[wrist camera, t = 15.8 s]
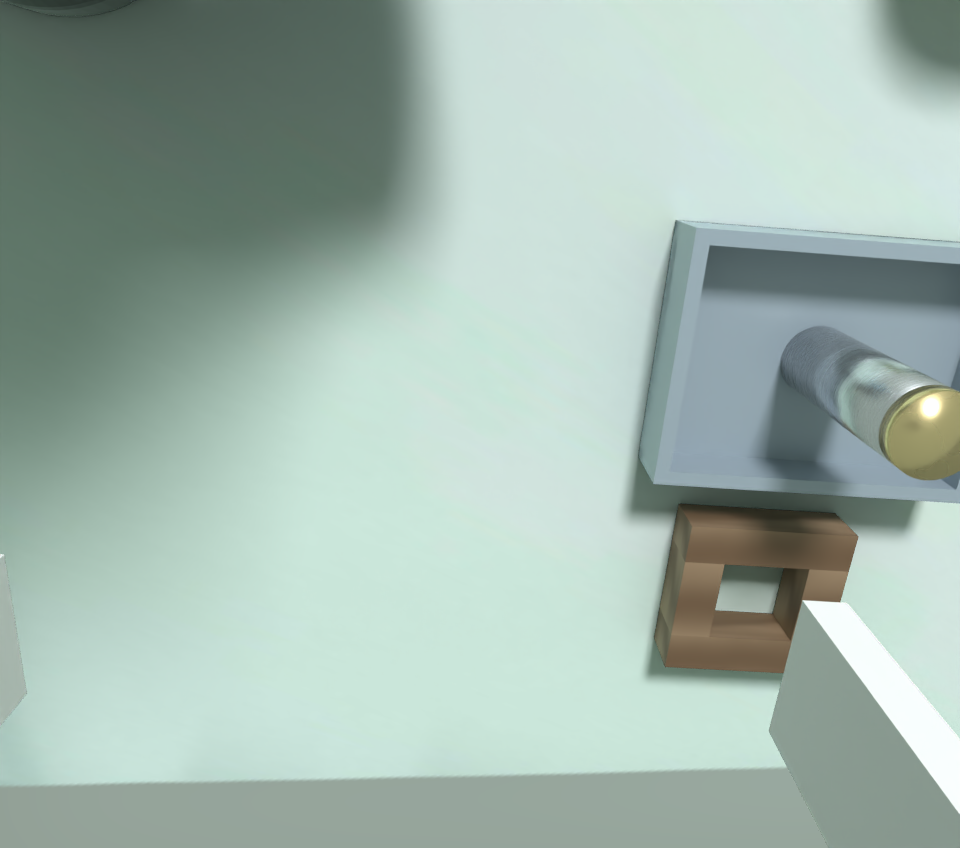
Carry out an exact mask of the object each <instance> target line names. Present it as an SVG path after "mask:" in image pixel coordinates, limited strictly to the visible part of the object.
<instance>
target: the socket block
mask: <svg viewBox="0 0 960 848" xmlns="http://www.w3.org/2000/svg"><path fill="white" fill-rule="evenodd" d="M857 540H858V536H857V535H856V534H855V533H854V532H853V531H852V530H851V529H850V528H849V527H848V526H847V525H846V524H845V523H844V522H843V521H842V520H841V519H840V518H839V517H838V516H837V515H836V514H835V513H821V512H804V511H788V510H772V509H756V508H740V507H724V506H707V505H691V504H679V505H678V510H677V516H676V521H675V527H674V532H673V538H672V543H671V549H670V554H669V559H668V565H667V570H666V576H665V581H664V587H663V592H662V598H661V603H660V608H659V614H658V619H657V625H656V630H655V636H654V639H655V642H656V644H657V647H658V650H659V652H660V655H661V658H662V660H663V663H664V665H665V667H677V668H696V669H715V670H733V671H752V672H771V673H784V670H785V666H786V662H787V658H788V654H789V650H790V647H791V643H792V639H793V635H794V631H795V627H796V623H797V620H798V616H799V612H800V608H801V604H802V600H806V601H823V602H840V601H841V597H842V593H843V590H844V586H845V583H846V579H847V576H848V572H849V568H850V565H851V561H852V558H853V554H854V551H855V547H856V543H857ZM725 564H726V565H743V566H760V567H777V568H784V570H783V574H782V578H781V582H780V587H779V591H778V595H777V599H776V603H775V607H774V611H773V614H768V613H751V612H733V611H715V607H716V603H717V598H718V593H719V589H720V584H721V579H722V574H723V570H724V565H725Z"/></svg>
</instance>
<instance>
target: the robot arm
mask: <svg viewBox="0 0 960 848" xmlns="http://www.w3.org/2000/svg"><path fill="white" fill-rule="evenodd" d="M0 1H3V2H6V3H9V4H12V5H15V6H19V7H22V8H25V9H28V10H32V11H35V12H39V13H44V14H49V15H56V16H70V17H76V16H90V15H97V14H101V13H106V12H109V11H112V10H116V9H118V8H121V7H123V6H126V5H128V4H130V3H132V2H134V1H136V0H0ZM26 694H27V691H26V685H25V679H24V673H23V667H22V660H21V654H20V648H19V642H18V636H17V630H16V623H15V617H14V611H13V605H12V599H11V593H10V587H9V580H8V574H7V568H6V562H5V556H4V555H3V554H0V726H1V725H2V724H3V723H4V721H5V720H6V719H7V718H8V716H9V715H10V714H11V713H12V711H13V710H14V709H15V708H16V707H17V705H18V704H19V703H20V702H21V700H22V699H23V698H24V697H25V695H26ZM769 733H770V735H771V737H772V738H773V740H774V742H775V744H776V746H777V748H778V750H779V752H780V754H781V756H782V758H783V760H784V762H785V764H786V766H787V768H788V770H789V771H790V773H791V776H792V777H793V779H794V781H795V783H796V785H797V787H798V789H799V791H800V793H801V795H802V797H803V799H804V801H805V803H806V805H807V807H808V809H809V811H810V812H811V815H812V817H813V818H814V820H815V822H816V824H817V826H818V828H819V830H820V832H821V834H822V836H823V838H824V840H825V842H826V844H827V846H828V848H960V739H959V737H958V736H957V735H956V734H955V733H954V731H953V730H952V729H951V728H950V726H949V725H948V724H947V723H946V722H945V720H944V719H943V718H942V717H941V716H940V714H939V713H938V712H937V711H936V710H935V708H934V707H933V706H932V705H931V704H930V702H929V701H928V700H927V699H926V697H925V696H924V695H923V694H922V693H921V691H920V690H919V689H918V688H917V687H916V685H915V684H914V683H913V682H912V681H911V679H910V678H909V677H908V676H907V675H906V673H905V672H904V671H903V670H902V669H901V667H900V666H899V665H898V664H897V662H896V661H895V660H894V659H893V658H892V656H891V655H890V654H889V653H888V652H887V650H886V649H885V648H884V647H883V646H882V644H881V643H880V642H879V641H878V640H877V638H876V637H875V636H874V635H873V634H872V632H871V631H870V630H869V629H868V627H867V626H866V625H865V624H864V623H863V621H862V620H861V619H860V618H859V617H858V615H857V614H856V613H855V612H854V611H853V609H852V608H851V607H850V606H849V605H848V603H841V602H823V601H806V600H802V604H801V608H800V612H799V616H798V620H797V623H796V627H795V631H794V635H793V639H792V643H791V647H790V650H789V654H788V658H787V662H786V666H785V670H784V674H783V678H782V681H781V685H780V689H779V693H778V697H777V701H776V705H775V708H774V712H773V716H772V720H771V724H770V728H769Z"/></svg>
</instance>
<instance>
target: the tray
mask: <svg viewBox="0 0 960 848" xmlns="http://www.w3.org/2000/svg"><path fill="white" fill-rule="evenodd" d="M814 326H829V327H832V328H834V329H837V330H839V331H841V332H843V333H845V334H847V335H849V336H851V337H852V338H854V339H856V340H858V341H860V342H862V343H864V344H866V345H868V346H870V347H872V348H874V349H876V350H878V351H880V352H882V353H884V354H886V355H888V356H890V357H892V358H894V359H896V360H898V361H900V362H902V363H904V364H906V365H908V366H910V367H912V368H914V369H916V370H918V371H919V372H921V373H923V374H925V375H927V376H929V377H931V378H933V379H935V380H937V381H939V382H941V383H943V384H945V385H947V386H949V387H951V388H953V389H955V390H957V391H959V392H960V242H953V241H940V240H927V239H914V238H901V237H888V236H875V235H862V234H849V233H836V232H823V231H810V230H797V229H784V228H771V227H758V226H745V225H731V224H718V223H705V222H692V221H679V220H676V223H675V229H674V235H673V242H672V248H671V254H670V260H669V267H668V273H667V279H666V286H665V292H664V298H663V304H662V311H661V317H660V323H659V330H658V336H657V342H656V348H655V355H654V361H653V367H652V374H651V380H650V386H649V392H648V399H647V405H646V411H645V417H644V424H643V430H642V436H641V443H640V449H639V455H638V457H639V459H640V460H641V462H642V464H643V466H644V468H645V470H646V471H647V473H648V475H649V477H650V479H651V481H652V482H653V484H661V485H677V486H693V487H709V488H725V489H741V490H756V491H772V492H788V493H804V494H820V495H836V496H852V497H868V498H884V499H900V500H916V501H931V502H947V503H960V471H959V472H957V473H955V474H953V475H951V476H949V477H946V478H943V479H938V480H919V479H915V478H912V477H910V476H908V475H906V474H905V473H903V472H902V471H901V470H899V469H898V468H897V467H895V466H894V465H893V464H891V463H890V462H889V461H887V460H886V459H885V458H883V457H882V456H881V455H880V454H878V453H877V452H876V451H874V450H873V449H872V448H870V447H869V446H868V445H866V444H865V443H864V442H862V441H861V440H860V439H858V438H857V437H856V436H855V435H853V434H852V433H851V432H849V431H848V430H847V429H845V428H844V427H843V426H841V425H840V424H839V423H837V422H836V421H835V420H833V419H832V418H831V417H829V416H828V415H827V414H826V413H824V412H823V411H822V410H820V409H819V408H818V407H816V406H815V405H814V404H812V403H811V402H810V401H808V400H807V399H806V398H804V397H803V396H802V395H800V394H799V393H798V392H797V391H795V390H794V389H793V388H791V387H790V386H789V385H788V384H787V383H786V381H785V380H784V378H783V376H782V373H781V367H780V366H781V357H782V353H783V351H784V349H785V347H786V345H787V344H788V343H789V341H790V340H791V339H792V338H793V337H794V336H795V335H797V334H798V333H799V332H801V331H803V330H805V329H807V328H810V327H814Z"/></svg>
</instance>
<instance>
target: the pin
mask: <svg viewBox="0 0 960 848" xmlns="http://www.w3.org/2000/svg"><path fill="white" fill-rule="evenodd" d="M780 367H781V373H782V376H783V378H784V380H785V381H786V383H787V384H788V385H789V386H790V387H791V388H793V389H794V390H795V391H797V392H798V393H799V394H800V395H802V396H803V397H804V398H806V399H807V400H808V401H810V402H811V403H812V404H814V405H815V406H816V407H818V408H819V409H820V410H822V411H823V412H824V413H826V414H827V415H828V416H829V417H831V418H832V419H833V420H835V421H836V422H837V423H839V424H840V425H841V426H843V427H844V428H845V429H847V430H848V431H849V432H851V433H852V434H853V435H855V436H856V437H857V438H858V439H860V440H861V441H862V442H864V443H865V444H866V445H868V446H869V447H870V448H872V449H873V450H874V451H876V452H877V453H878V454H880V455H881V456H882V457H883V458H885V459H886V460H887V461H889V462H890V463H891V464H893V465H894V466H895V467H897V468H898V469H899V470H901V471H902V472H903V473H905V474H906V475H908V476H910V477H912V478H915V479H919V480H938V479H943V478H946V477H949V476H951V475H953V474H955V473H957V472H959V471H960V392H959V391H957V390H955V389H953V388H951V387H949V386H947V385H945V384H943V383H941V382H939V381H937V380H935V379H933V378H931V377H929V376H927V375H925V374H923V373H921V372H919V371H918V370H916V369H914V368H912V367H910V366H908V365H906V364H904V363H902V362H900V361H898V360H896V359H894V358H892V357H890V356H888V355H886V354H884V353H882V352H880V351H878V350H876V349H874V348H872V347H870V346H868V345H866V344H864V343H862V342H860V341H858V340H856V339H854V338H852V337H851V336H849V335H847V334H845V333H843V332H841V331H839V330H837V329H834V328H832V327H829V326H814V327H810V328H807V329H805V330H803V331H801V332H799V333H798V334H797V335H795V336H794V337H793V338H792V339H791V340H790V341H789V343H788V344H787V345H786V347H785V349H784V351H783V353H782V357H781V366H780Z"/></svg>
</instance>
